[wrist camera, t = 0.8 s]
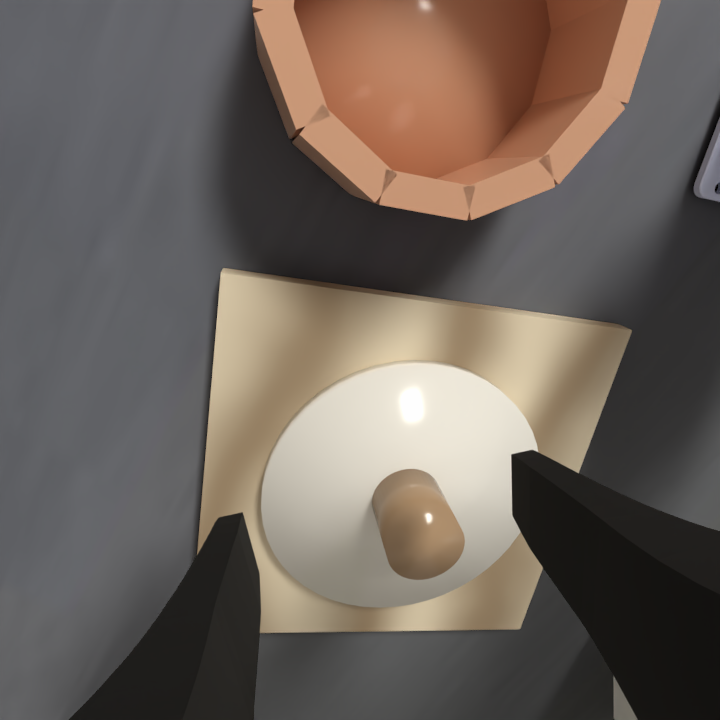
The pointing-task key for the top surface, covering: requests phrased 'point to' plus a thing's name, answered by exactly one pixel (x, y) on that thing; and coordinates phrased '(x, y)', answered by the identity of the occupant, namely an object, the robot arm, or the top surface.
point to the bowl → (450, 92)
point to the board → (365, 349)
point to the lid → (395, 483)
